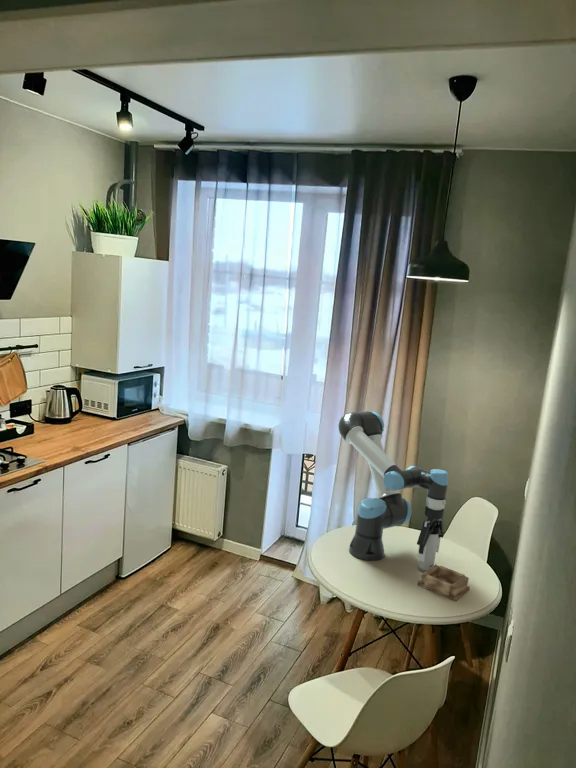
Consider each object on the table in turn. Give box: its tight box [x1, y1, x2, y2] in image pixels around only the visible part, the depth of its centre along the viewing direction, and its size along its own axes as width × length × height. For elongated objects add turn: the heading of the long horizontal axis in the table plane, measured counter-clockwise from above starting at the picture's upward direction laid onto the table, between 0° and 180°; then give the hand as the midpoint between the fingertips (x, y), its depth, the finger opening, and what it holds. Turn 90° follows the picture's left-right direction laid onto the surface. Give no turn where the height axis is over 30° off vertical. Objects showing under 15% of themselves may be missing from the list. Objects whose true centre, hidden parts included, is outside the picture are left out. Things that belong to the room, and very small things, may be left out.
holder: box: [417, 564, 471, 602], centre depth 224 cm, size 16×14×5 cm
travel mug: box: [417, 525, 440, 573], centre depth 238 cm, size 6×7×20 cm
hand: (428, 555), depth 238 cm, fingers open, 13 cm apart
